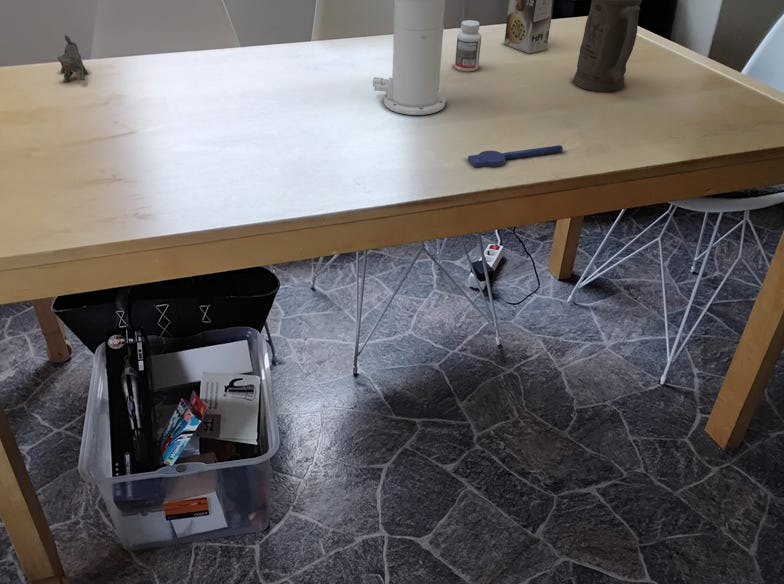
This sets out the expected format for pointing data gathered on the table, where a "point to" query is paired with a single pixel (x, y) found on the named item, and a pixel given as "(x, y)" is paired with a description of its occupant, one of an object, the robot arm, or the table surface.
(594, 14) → the beer stein
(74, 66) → the dog figurine
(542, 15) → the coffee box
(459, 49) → the pill bottle
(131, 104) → the table surface
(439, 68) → the robot arm
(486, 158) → the spoon
